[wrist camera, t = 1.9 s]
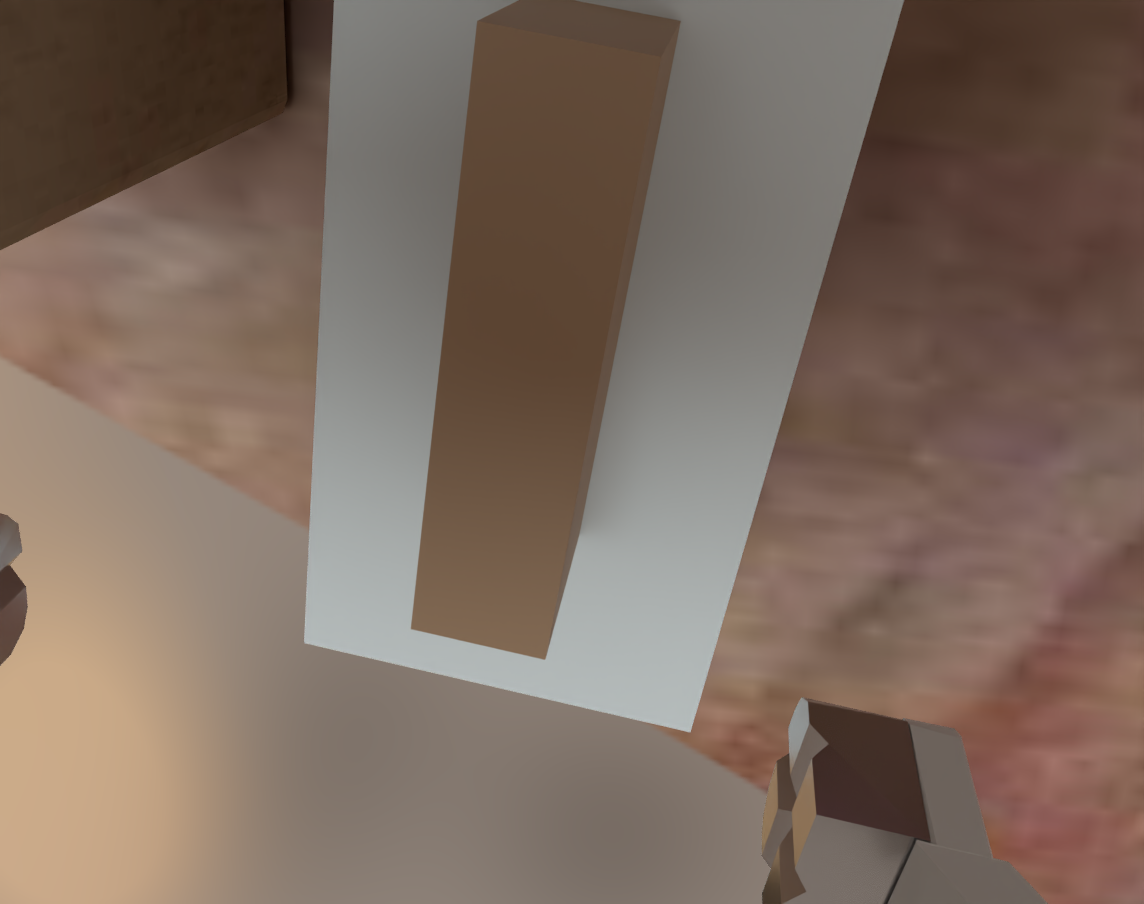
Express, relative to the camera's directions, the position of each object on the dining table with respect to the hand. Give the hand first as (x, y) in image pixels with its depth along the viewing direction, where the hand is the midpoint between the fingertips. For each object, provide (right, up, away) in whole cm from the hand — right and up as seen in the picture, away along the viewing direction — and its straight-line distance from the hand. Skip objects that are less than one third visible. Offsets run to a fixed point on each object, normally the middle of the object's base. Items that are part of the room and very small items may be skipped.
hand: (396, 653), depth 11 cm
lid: (+2, +5, +10) cm, 11 cm away
